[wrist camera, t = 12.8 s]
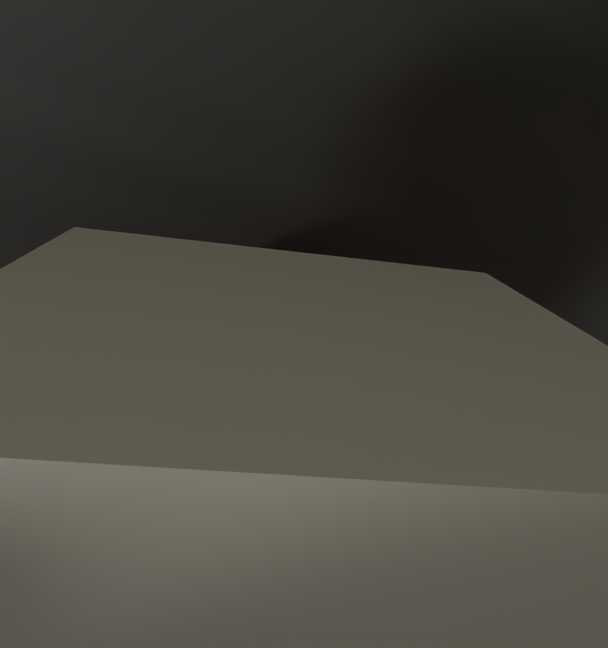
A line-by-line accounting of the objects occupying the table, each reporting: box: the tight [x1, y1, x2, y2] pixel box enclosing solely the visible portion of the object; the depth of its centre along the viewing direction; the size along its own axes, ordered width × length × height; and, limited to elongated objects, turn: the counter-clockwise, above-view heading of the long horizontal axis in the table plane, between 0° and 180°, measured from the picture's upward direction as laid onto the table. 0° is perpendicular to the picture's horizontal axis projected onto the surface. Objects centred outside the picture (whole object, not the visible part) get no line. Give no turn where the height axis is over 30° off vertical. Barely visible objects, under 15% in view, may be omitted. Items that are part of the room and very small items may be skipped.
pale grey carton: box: [0, 227, 608, 648], centre depth 7 cm, size 6×8×6 cm
